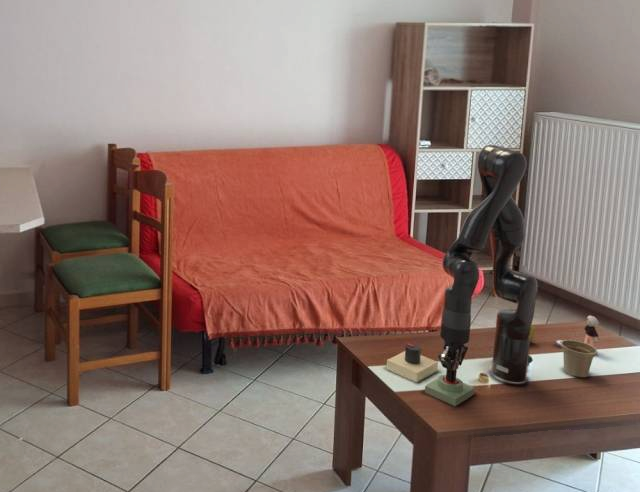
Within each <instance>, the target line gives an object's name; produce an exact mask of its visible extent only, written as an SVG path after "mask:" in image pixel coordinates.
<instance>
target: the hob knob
mask: <svg viewBox="0 0 640 492" xmlns="http://www.w3.org/2000/svg"><path fill="white" fill-rule="evenodd" d="M404 351H405V361H406V362H408V363H411V364H419V363H420V357H421V355H422V347H421V346H420V345H418V344H415V343H408V342H407V343H406V344H405V350H404Z"/></svg>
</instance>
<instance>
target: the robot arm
mask: <svg viewBox="0 0 640 492" xmlns="http://www.w3.org/2000/svg"><path fill="white" fill-rule="evenodd" d="M527 164H528V162H527V158H526V156H525V155H524V154H523V153H521V152H520V151H518V150H517V151H516V150H514V149H510V148H507V147H503V146H500V145H496V144H488V145H485V146H484V147H483V148H482V149H481V150H480V152H479V153H478V157H477V170H478V174H479V178H480V182H481V186H482V190H483V194H484V200H483V201H482V202H480V203H479V204H478V205H477V206H475V207H474V208H472V210H471V211H470V212H469V213H468V214H467V216H466V217H465V219H464V222H463V224H462V226H461V229H460V231H459V234H458V237H457V238H456V239H455V240H454V242H452V244H451V246H449V248H448V249H447V251H446V252H445V254H444V256H443V259H442V269H443V271H444V272H445V273H446V274H447V275H448V276H449V277H451V278H453V283H452V285H449V286H447V287H446V288H445V289H444V296H443V306H442V311H441V321H440V322H441V323H440V331H439V336H440V338H441V339H442V340H443V341H444V344H443V349H442V350H443V352H442V353H441V352H439V353H438V357H437V358H438V360H439V362H440V364H441V366H442V368H444V369H446V372H445V375H446V380H447V381H450V382H454V381H456V378H457V370H458V369H459V367H460V366H462V364H463V361H464V359H465V357H466V355H467V352H468V349H469V347H468V346H467V345H466V344H468V343H469V341H470V334H471V322H472V314H471V312H472V311H471V310H472V302H473V301H472V298H473V294H475V290H476V288H477V285H478V283H479V279H480V270H479V266H478V264H477V263H476V262H475V261H474V260H473V259H470V258H471V256H472V255H473V253H475V252H482V251H483V250H484V249H485V246H486V244H487V242H488V239H490V245H491V247H490V248H491V255H492V288H493V291H494V294H495V296H496V297H498V298H500V299H501V300H504V301H507V302H511V303H514V304H516V305H517V306H516V308H505V309H500V310H498V311H497V314H496V319H495V330H494V331H495V332H494V340H493V341H494V344H493V352H492V353H493V354H492V363H491V370H490V374H491V376H492V377H493V379H495V380H497V381H499V382H501V383H503V384H507V385H511V386H524V385H526V384H527V381H528V379H527V375H528V366H529V357H530V356H529V355H530V345H531V341H530V335H531V326H532V325H533V320H534V316H535V308H536V302H537V297H538V289H539V285H538V280H537V278H536V277H534V276H533V275H530V274H527V273H523V272H520V271H517V270H513V269H512V268H511V265H510V264H511V263H510V261H511V258H512V257H513V255H515V253H516V252H517V251H518V250H519V249H520V248H521V246H522V245H523V244H524V242H525V239H526V228H525V219H524V215H523V213H522V211H521V209H520V208H519V206H518V204H517V203H516V201H515V199H514V198H513V194H514V193H515V191H516V189H517V187H518V186H519V184H520V183H521V181H522V179H523V177H524V176H525V172H526V169H527V166H528V165H527Z"/></svg>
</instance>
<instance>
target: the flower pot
mask: <svg viewBox="0 0 640 492" xmlns="http://www.w3.org/2000/svg"><path fill="white" fill-rule="evenodd" d="M560 345H561V349H562V351H563V354H562V355H563V370H564V372H565V373H567V374H568V375H570V376H573V377H579V378H587V377H588V376H589V373H590V369H591V366H592V362H593V359H594V358H595V356H596V354H597V353H598V350H597V348H596V347H595V346H594V347H593V346H591V345H589V344H586V343H584V342H583V341H579V340H575V339H564V340H561V342H560Z"/></svg>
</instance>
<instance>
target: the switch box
mask: <svg viewBox="0 0 640 492" xmlns="http://www.w3.org/2000/svg"><path fill="white" fill-rule="evenodd" d="M445 377H446V374H441V375H439V376H438V377H437V378H436V379H434V380H433V381H431V382H429V383H427V384H426V385H425V386H424V393H425V394H427V395H429V396H431V397H434V398H436V399H438V400H440V401H443V402H445V403H447V404H448V405H451V406H453V407H457V406H458V405H460V404H462V403H463V402H465V401H466V400H468V399H469V398H471V397H473V396H474V395H475V391H476V390H475V388H476V387H475V386H473V385H470V384H467V383H465V382H463V380H461V379H460V378H458V377H456V380H457V384H449V383H446V382H444V378H445Z"/></svg>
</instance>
